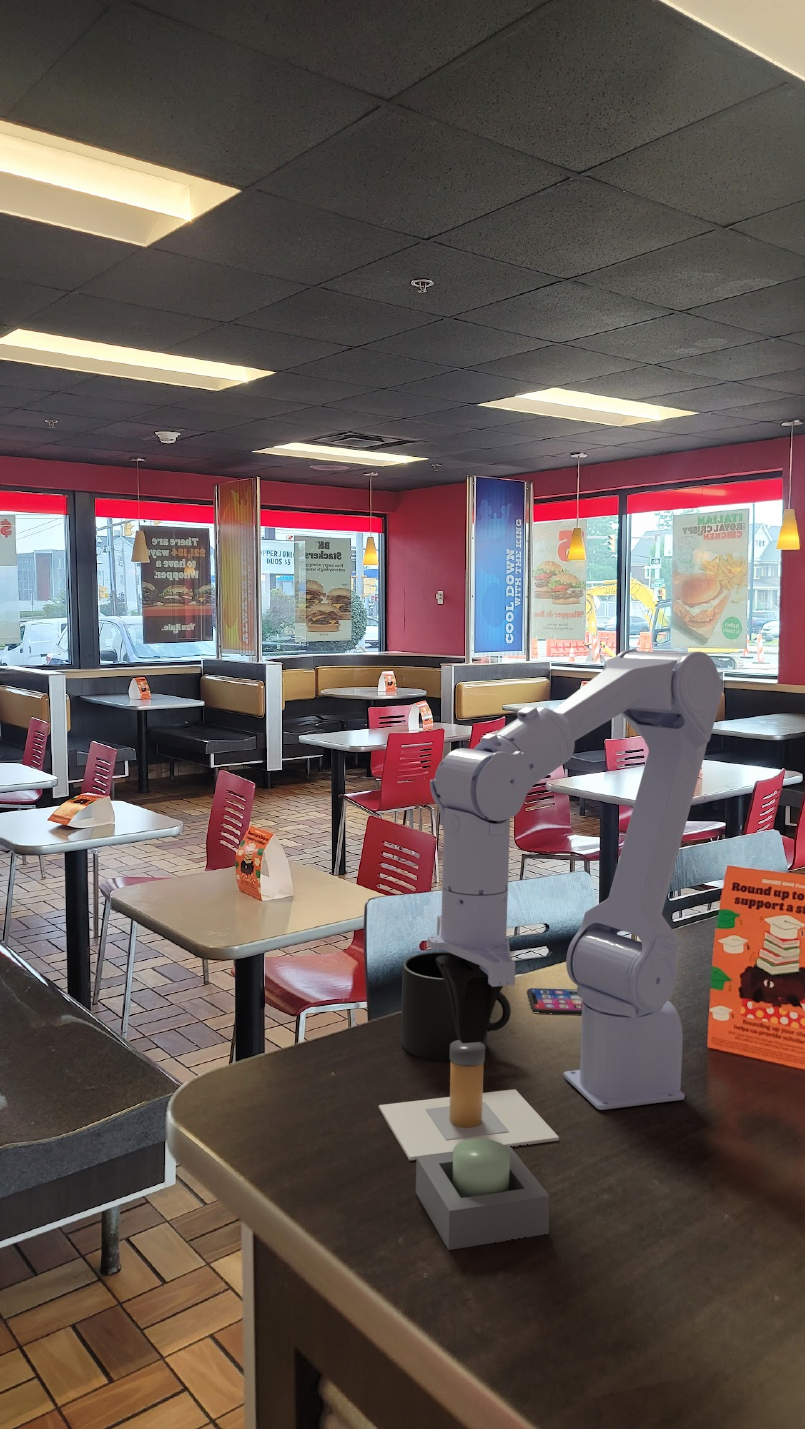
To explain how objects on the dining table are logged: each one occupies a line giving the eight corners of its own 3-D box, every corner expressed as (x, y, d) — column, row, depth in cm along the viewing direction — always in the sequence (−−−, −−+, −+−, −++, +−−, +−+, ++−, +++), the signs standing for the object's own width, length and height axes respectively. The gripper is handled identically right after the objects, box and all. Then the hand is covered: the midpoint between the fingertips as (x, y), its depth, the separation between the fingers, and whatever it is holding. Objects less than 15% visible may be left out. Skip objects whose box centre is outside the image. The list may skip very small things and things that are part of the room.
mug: (499, 1072, 106) (501, 987, 105) (389, 1055, 110) (391, 972, 109) (518, 1038, 115) (520, 959, 114) (415, 1024, 119) (417, 947, 118)
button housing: (507, 1179, 85) (508, 1144, 85) (548, 1233, 78) (549, 1195, 77) (415, 1192, 83) (416, 1156, 83) (448, 1249, 75) (449, 1210, 75)
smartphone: (658, 1013, 123) (532, 1009, 123) (658, 1021, 123) (532, 1017, 123) (645, 990, 130) (526, 987, 130) (645, 997, 130) (526, 994, 130)
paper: (515, 1092, 102) (515, 1088, 102) (558, 1140, 92) (558, 1136, 92) (378, 1108, 98) (378, 1104, 98) (409, 1160, 88) (409, 1156, 88)
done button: (496, 1171, 83) (497, 1135, 83) (517, 1200, 79) (518, 1162, 78) (444, 1178, 82) (445, 1142, 81) (463, 1208, 77) (464, 1170, 77)
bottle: (476, 1109, 97) (478, 1037, 96) (487, 1125, 94) (489, 1051, 93) (443, 1113, 96) (445, 1040, 95) (454, 1129, 93) (456, 1055, 92)
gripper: (407, 870, 95) (404, 1013, 96) (458, 911, 81) (453, 1078, 82) (479, 867, 97) (475, 1007, 98) (541, 907, 83) (535, 1070, 84)
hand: (470, 1039), depth 90 cm, fingers closed
